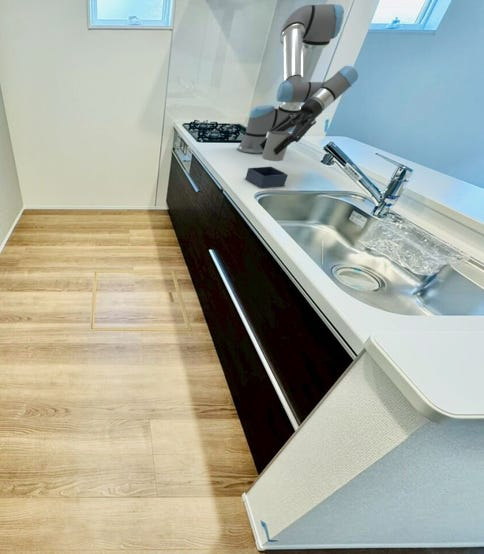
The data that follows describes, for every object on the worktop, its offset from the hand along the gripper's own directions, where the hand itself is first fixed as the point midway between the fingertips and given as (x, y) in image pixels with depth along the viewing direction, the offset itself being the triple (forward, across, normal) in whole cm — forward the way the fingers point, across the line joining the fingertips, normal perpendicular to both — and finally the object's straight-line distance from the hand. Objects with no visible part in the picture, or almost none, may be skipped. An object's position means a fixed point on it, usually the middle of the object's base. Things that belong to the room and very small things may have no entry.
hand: (268, 149), depth 125 cm
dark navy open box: (+8, -1, -12) cm, 14 cm away
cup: (0, 0, -5) cm, 5 cm away
